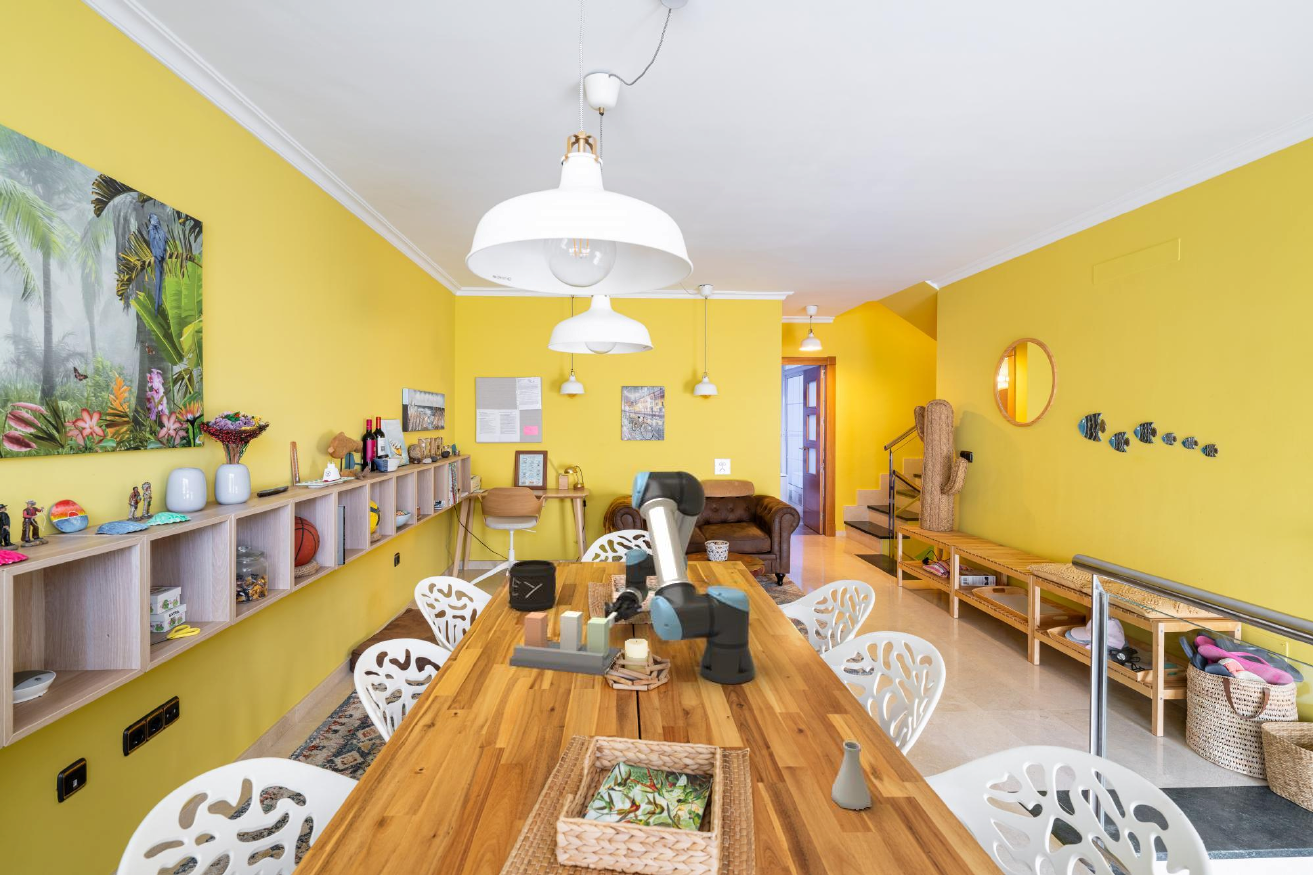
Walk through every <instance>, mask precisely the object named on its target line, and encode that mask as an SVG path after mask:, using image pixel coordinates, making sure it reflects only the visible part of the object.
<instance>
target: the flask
mask: <svg viewBox="0 0 1313 875" xmlns="http://www.w3.org/2000/svg"><path fill="white" fill-rule="evenodd" d="M842 744H843V746H842V747H843V749H844V755H843V759H842V762H841V766H840V769H839V771H838V773H837V776H836V778H835V781H834V782H833V785H832V787H831V797H832V798H831V799H832V800H833V801H834V802H835V803H836V804H837V805H838V806H840V808H845V809H848V810H854V809H856V810H855V811H860V810H859V809H862V810H865V809H864V808H865V807H870V808H872V807H871V806H872V797H871V794H870V791H869V788H868V786H867V782H866V778H865V776H864V772H863V770H862V769H863V768H862V766H861V760H860V753H861V751H862V745H861V744H860V743H859V742H857V741H854V740H846V741H843V743H842Z"/></svg>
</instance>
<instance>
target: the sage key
mask: <svg viewBox="0 0 1313 875" xmlns="http://www.w3.org/2000/svg"><path fill="white" fill-rule="evenodd" d="M586 625H587V626H586V628H587V629H586V645H587V652H593V653H603V654H604V659H605V657H606V656H607V655H608V654H609V647H610V628H609V619H608V618H605V617H596V616H593V617H592V618H590V619H589V620H588V621H587V622H586Z"/></svg>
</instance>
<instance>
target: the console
mask: <svg viewBox="0 0 1313 875" xmlns="http://www.w3.org/2000/svg"><path fill="white" fill-rule="evenodd" d="M619 652H621V653H622V647H619V646H618V647H616V646H609V654H608V655H607V656H606V657H605V659H604V654H603V653H593V652H587V643H586V644H584V643H582V646H581V647H580V648H579V649H578V650H577V651H573V650H562V649H560V641H552V640H547V648H542V647H532V646H524V645H521V644H517V645H515V646H514V647H513V655H512V656H511V657H510V658H509V666H513V667H519V666H522V667H521V668H531V669H541V670H550V671H560V672H568V673H577V674H587V675H597V676H604V675H605V671H606V670H607V669H608V668H609V667H610V665H611V664H612V662H613V661H614V658H615V657H616V655H617V654H618V653H619ZM605 676H606V675H605Z"/></svg>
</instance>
